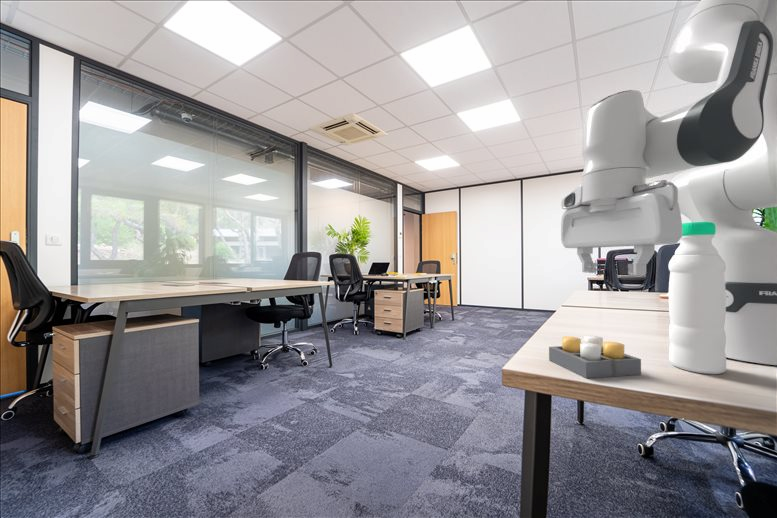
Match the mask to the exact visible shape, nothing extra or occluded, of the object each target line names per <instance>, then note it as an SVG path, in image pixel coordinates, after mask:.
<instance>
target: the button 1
mask: <svg viewBox="0 0 777 518" xmlns="http://www.w3.org/2000/svg"><path fill="white" fill-rule="evenodd" d="M561 343H562V344H561V346H562V350H563V351H566V352H568V353H579V352H580V344H581V343H582V339H581V338H579V337H574V336H562V337H561Z"/></svg>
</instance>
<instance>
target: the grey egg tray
mask: <svg viewBox="0 0 777 518" xmlns="http://www.w3.org/2000/svg"><path fill="white" fill-rule="evenodd" d="M548 361H550V362H553V363H554V364H556V365H558V366H560V367H562V368H564V369H566V370H568V369H569V370H568V371H570V370H571V371H570V372H573V373H574V374H577V375H578V376H579V377H580V376H581V377H582V378H585V379H594V378H609V377H621V376H623V377H624V376H636V375H637V376H638V375H641V374H642V359H641V358H639V357H636V356H633V355H630V354H627V353H624V359H616V360H613V359H610V358H608V357H605V356H603V351H601V360H600V361H588V360H585V359H583V358H580V352H579V353H568V352H566V351H563V350H562V345H559V346H557V345H556V346H549V347H548Z"/></svg>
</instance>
